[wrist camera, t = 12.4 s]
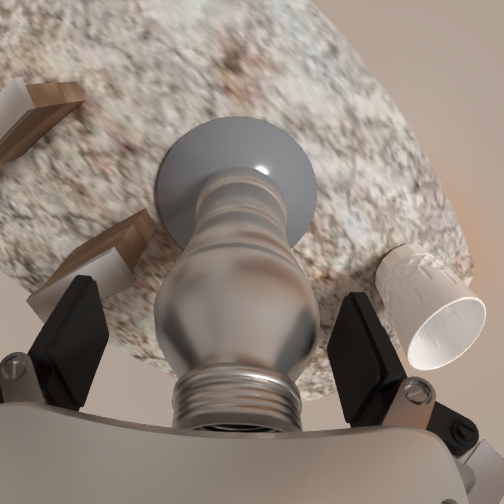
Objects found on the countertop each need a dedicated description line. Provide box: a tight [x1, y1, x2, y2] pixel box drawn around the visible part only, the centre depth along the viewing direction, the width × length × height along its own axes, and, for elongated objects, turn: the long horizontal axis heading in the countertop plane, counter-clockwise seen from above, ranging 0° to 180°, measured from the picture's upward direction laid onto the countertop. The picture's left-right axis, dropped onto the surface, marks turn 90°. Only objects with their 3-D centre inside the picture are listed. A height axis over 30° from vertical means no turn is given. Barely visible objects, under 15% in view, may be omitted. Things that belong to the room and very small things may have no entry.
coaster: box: [157, 117, 317, 250], centre depth 25 cm, size 13×13×1 cm
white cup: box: [375, 244, 486, 370], centre depth 25 cm, size 8×8×10 cm
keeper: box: [0, 77, 157, 324], centre depth 20 cm, size 16×10×9 cm, turn 25°
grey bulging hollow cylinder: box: [154, 166, 320, 433], centre depth 16 cm, size 6×7×20 cm
